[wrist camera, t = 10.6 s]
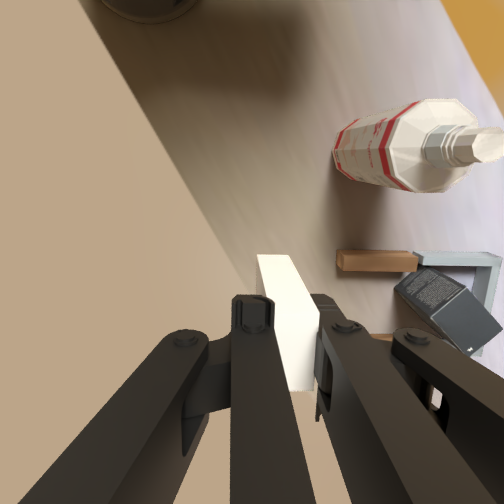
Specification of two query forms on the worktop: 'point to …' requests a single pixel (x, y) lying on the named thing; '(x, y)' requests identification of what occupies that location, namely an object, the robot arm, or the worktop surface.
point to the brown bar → (377, 266)
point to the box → (449, 309)
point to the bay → (484, 273)
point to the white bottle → (416, 146)
